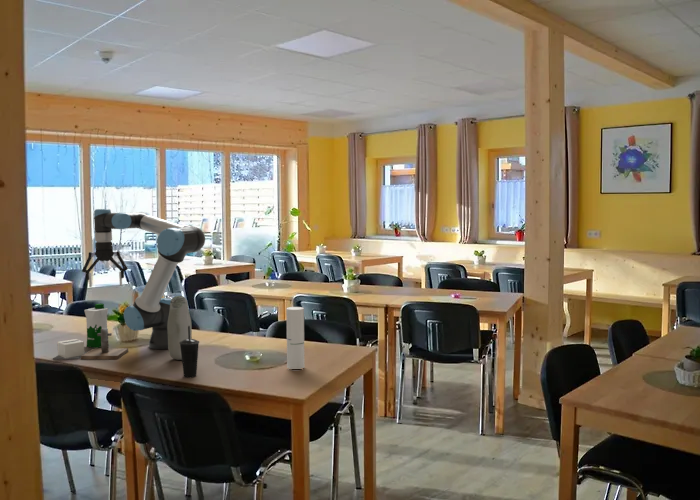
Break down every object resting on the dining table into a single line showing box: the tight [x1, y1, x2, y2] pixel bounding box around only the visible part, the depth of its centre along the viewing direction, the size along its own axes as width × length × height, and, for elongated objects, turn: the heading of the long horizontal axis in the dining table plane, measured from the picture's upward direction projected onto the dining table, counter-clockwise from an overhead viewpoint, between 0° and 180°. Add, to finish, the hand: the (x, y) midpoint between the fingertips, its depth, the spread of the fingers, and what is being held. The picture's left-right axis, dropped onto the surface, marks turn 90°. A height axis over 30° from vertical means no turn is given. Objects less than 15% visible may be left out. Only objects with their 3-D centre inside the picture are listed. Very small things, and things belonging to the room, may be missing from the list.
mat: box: [52, 351, 88, 360], centre depth 285 cm, size 11×11×1 cm
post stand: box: [80, 327, 129, 360], centre depth 286 cm, size 16×14×12 cm
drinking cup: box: [179, 326, 200, 379], centre depth 251 cm, size 8×8×20 cm
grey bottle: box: [167, 295, 193, 361], centre depth 278 cm, size 10×10×28 cm
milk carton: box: [84, 303, 109, 349], centre depth 305 cm, size 9×9×20 cm
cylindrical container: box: [285, 306, 305, 370], centre depth 262 cm, size 7×7×25 cm
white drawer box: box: [57, 338, 85, 358], centre depth 285 cm, size 8×8×6 cm
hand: (105, 286), depth 303 cm, fingers open, 13 cm apart
